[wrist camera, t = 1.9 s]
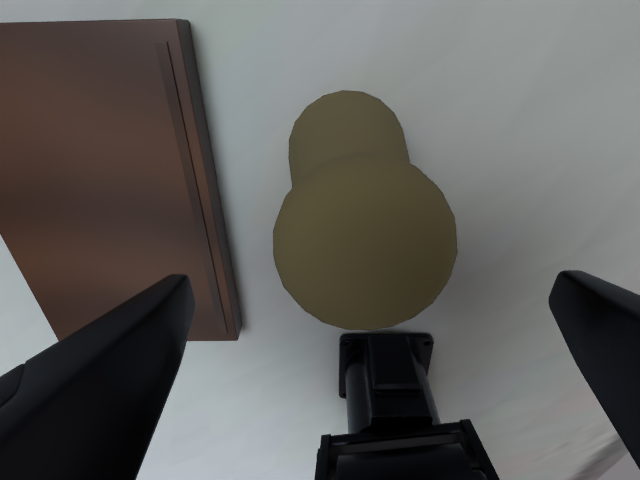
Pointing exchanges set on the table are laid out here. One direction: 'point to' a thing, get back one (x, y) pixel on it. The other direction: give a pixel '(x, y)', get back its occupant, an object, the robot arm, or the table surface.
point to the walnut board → (110, 170)
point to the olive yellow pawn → (360, 218)
